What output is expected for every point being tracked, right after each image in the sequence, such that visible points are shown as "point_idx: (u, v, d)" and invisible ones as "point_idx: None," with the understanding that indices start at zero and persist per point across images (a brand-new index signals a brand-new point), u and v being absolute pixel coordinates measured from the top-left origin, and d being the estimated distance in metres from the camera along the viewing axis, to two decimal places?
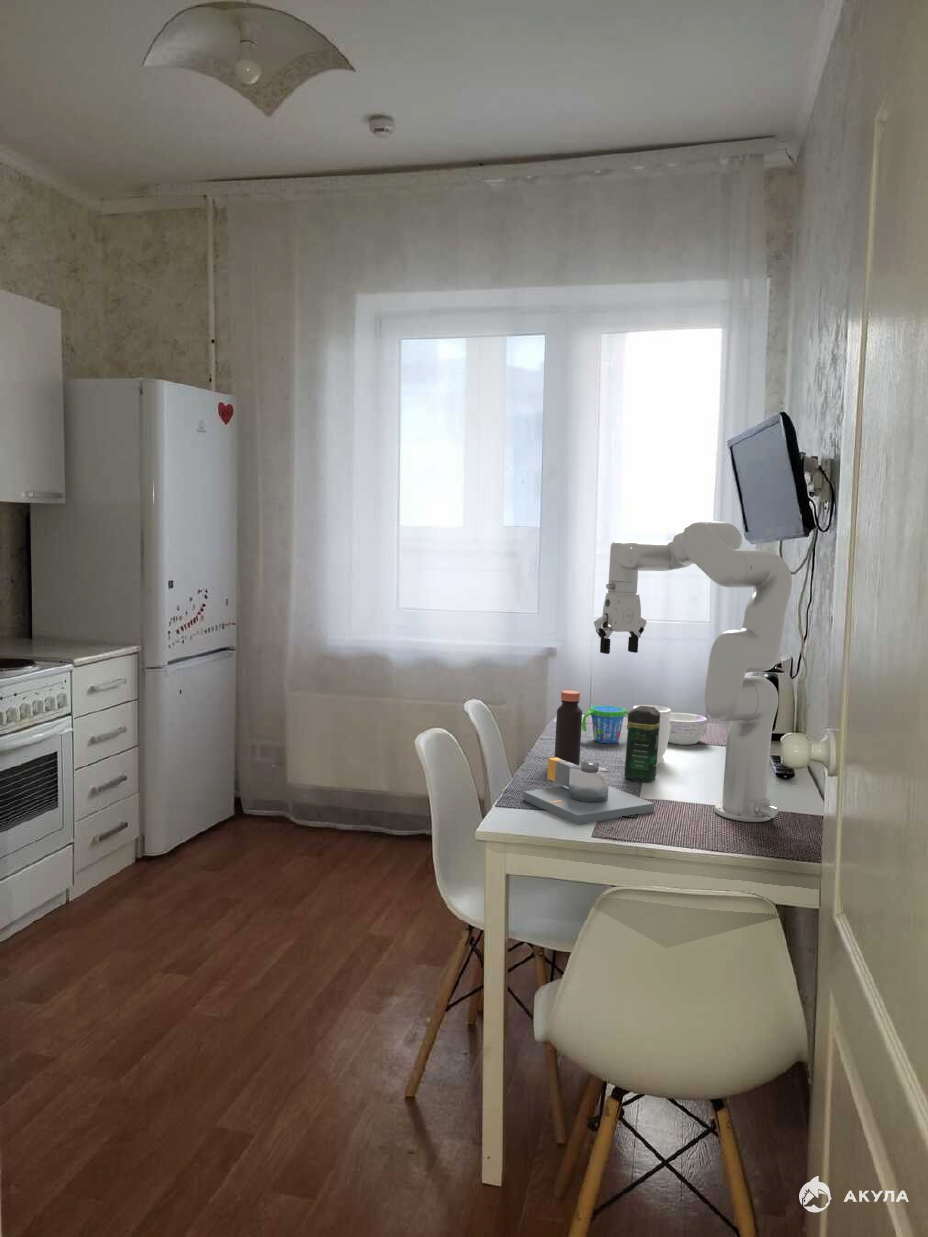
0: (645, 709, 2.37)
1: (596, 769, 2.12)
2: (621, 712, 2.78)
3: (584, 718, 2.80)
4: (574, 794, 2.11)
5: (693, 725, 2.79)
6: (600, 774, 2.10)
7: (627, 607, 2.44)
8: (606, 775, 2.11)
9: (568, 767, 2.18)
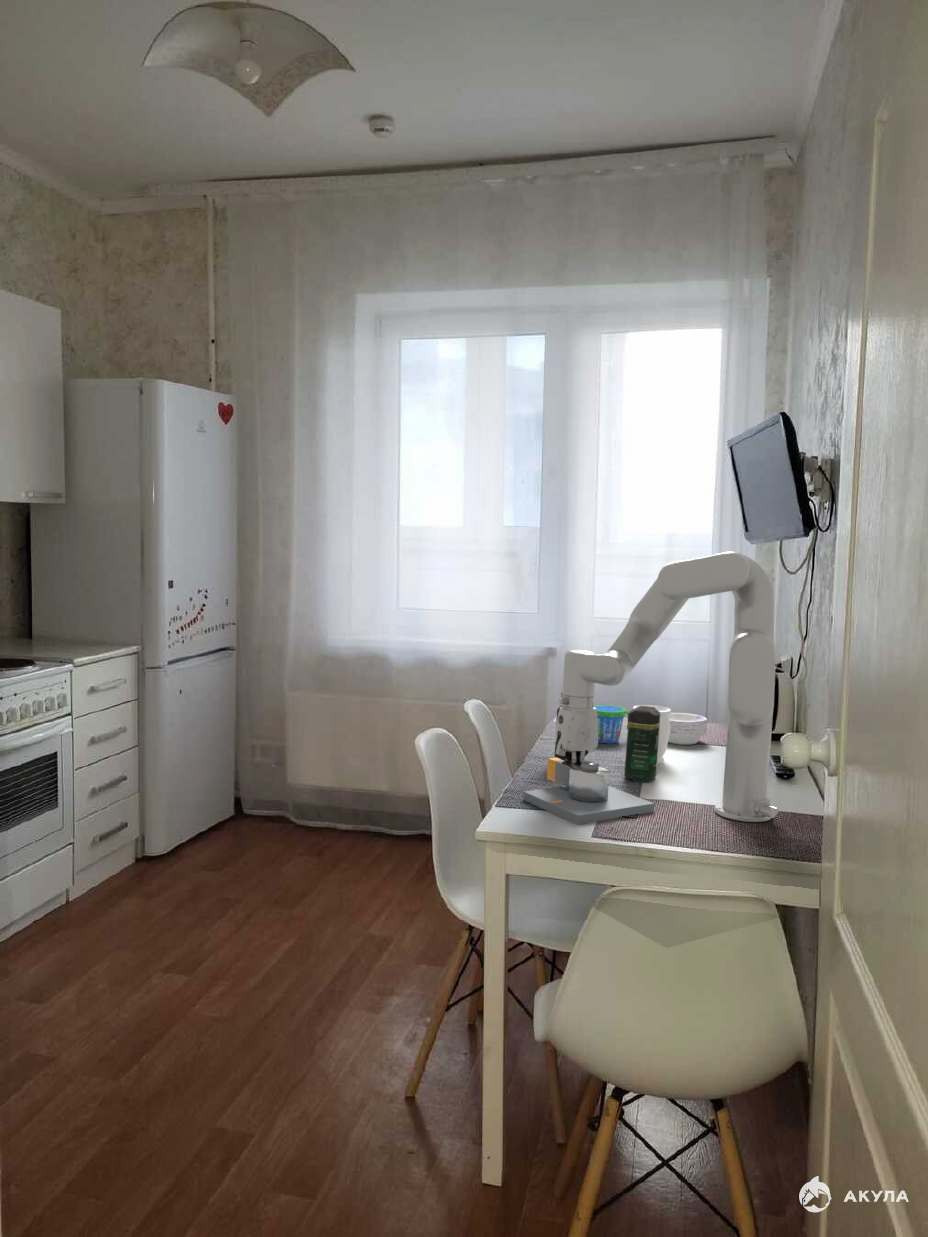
0: (645, 709, 2.37)
1: (596, 769, 2.12)
2: (621, 712, 2.78)
3: None
4: (574, 794, 2.11)
5: (693, 725, 2.79)
6: (600, 774, 2.10)
7: (582, 724, 2.21)
8: (606, 775, 2.11)
9: (568, 767, 2.18)
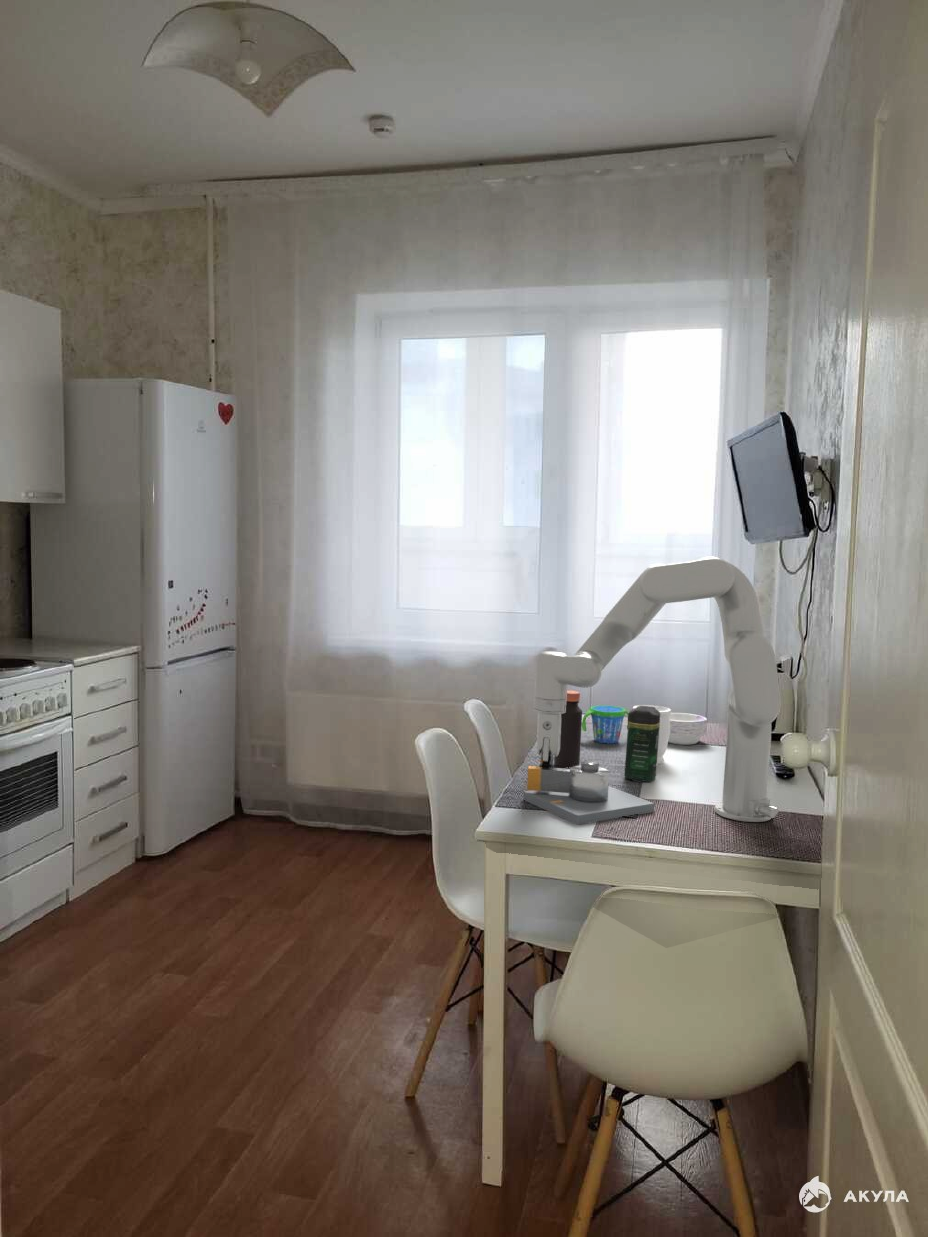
0: (645, 709, 2.37)
1: None
2: (621, 712, 2.78)
3: (584, 718, 2.80)
4: (590, 797, 2.09)
5: (693, 725, 2.79)
6: (606, 771, 2.13)
7: (560, 726, 2.17)
8: None
9: (562, 772, 2.13)
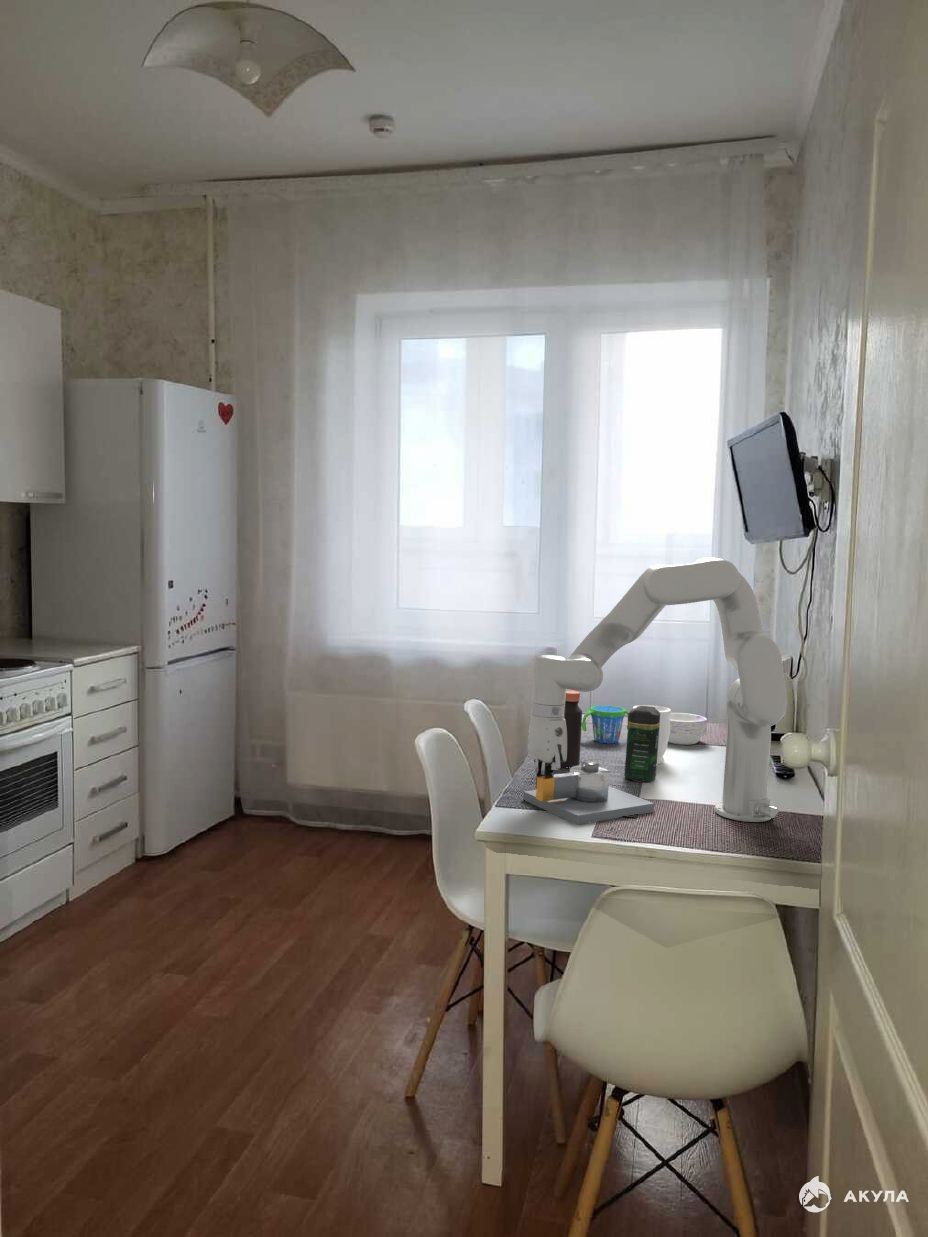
0: (645, 709, 2.37)
1: None
2: (621, 712, 2.78)
3: (584, 718, 2.80)
4: (602, 796, 2.10)
5: (693, 725, 2.79)
6: (602, 768, 2.15)
7: None
8: None
9: (571, 777, 2.09)
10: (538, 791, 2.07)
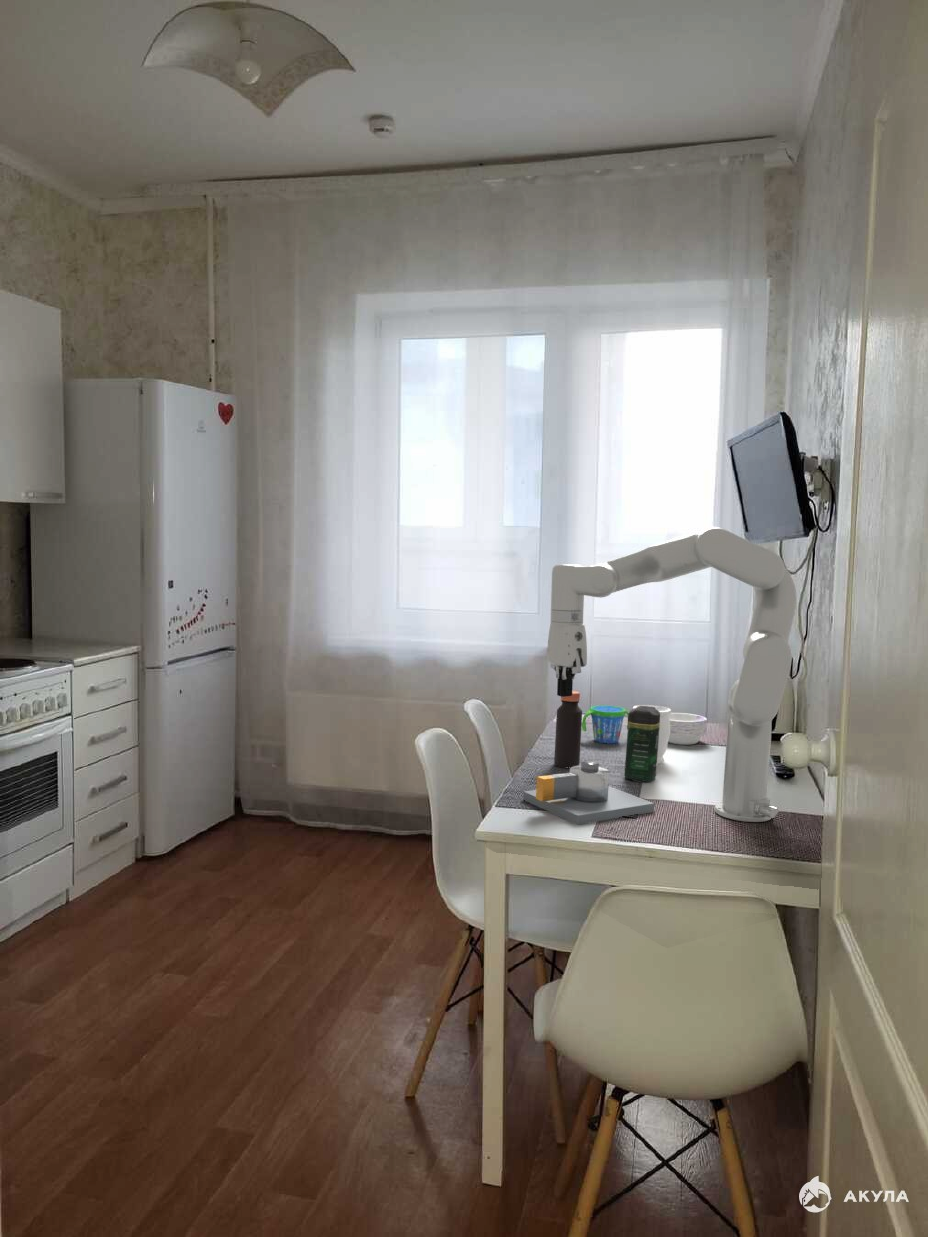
0: (645, 709, 2.37)
1: None
2: (621, 712, 2.78)
3: (584, 718, 2.80)
4: (602, 796, 2.10)
5: (693, 725, 2.79)
6: (602, 768, 2.15)
7: None
8: None
9: (571, 777, 2.09)
10: (538, 791, 2.07)
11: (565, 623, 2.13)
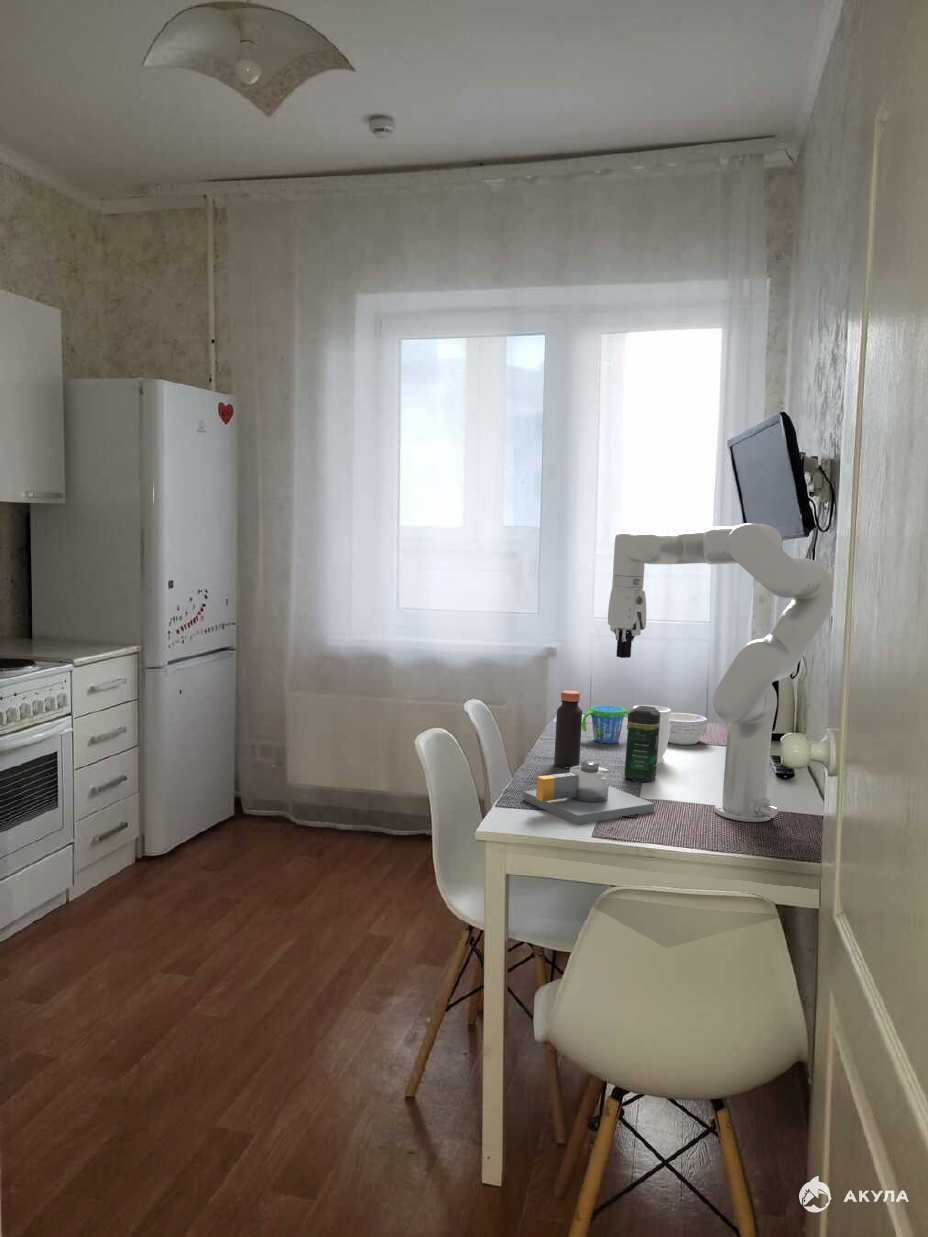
0: (645, 709, 2.37)
1: None
2: (621, 712, 2.78)
3: (584, 718, 2.80)
4: (602, 796, 2.10)
5: (693, 725, 2.79)
6: (602, 768, 2.15)
7: None
8: None
9: (571, 777, 2.09)
10: (538, 791, 2.07)
11: (626, 588, 2.26)
